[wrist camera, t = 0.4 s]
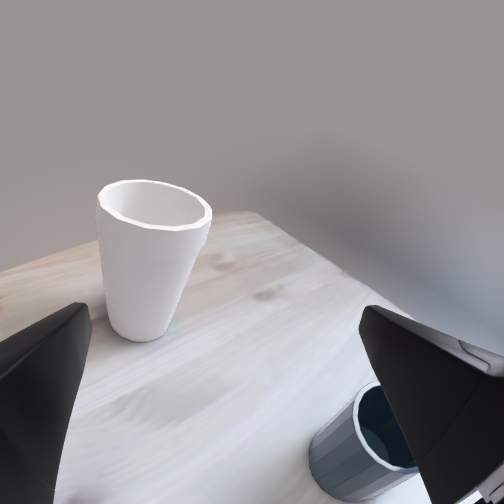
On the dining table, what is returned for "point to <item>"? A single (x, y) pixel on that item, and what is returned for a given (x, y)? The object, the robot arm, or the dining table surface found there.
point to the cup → (361, 449)
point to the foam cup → (147, 252)
